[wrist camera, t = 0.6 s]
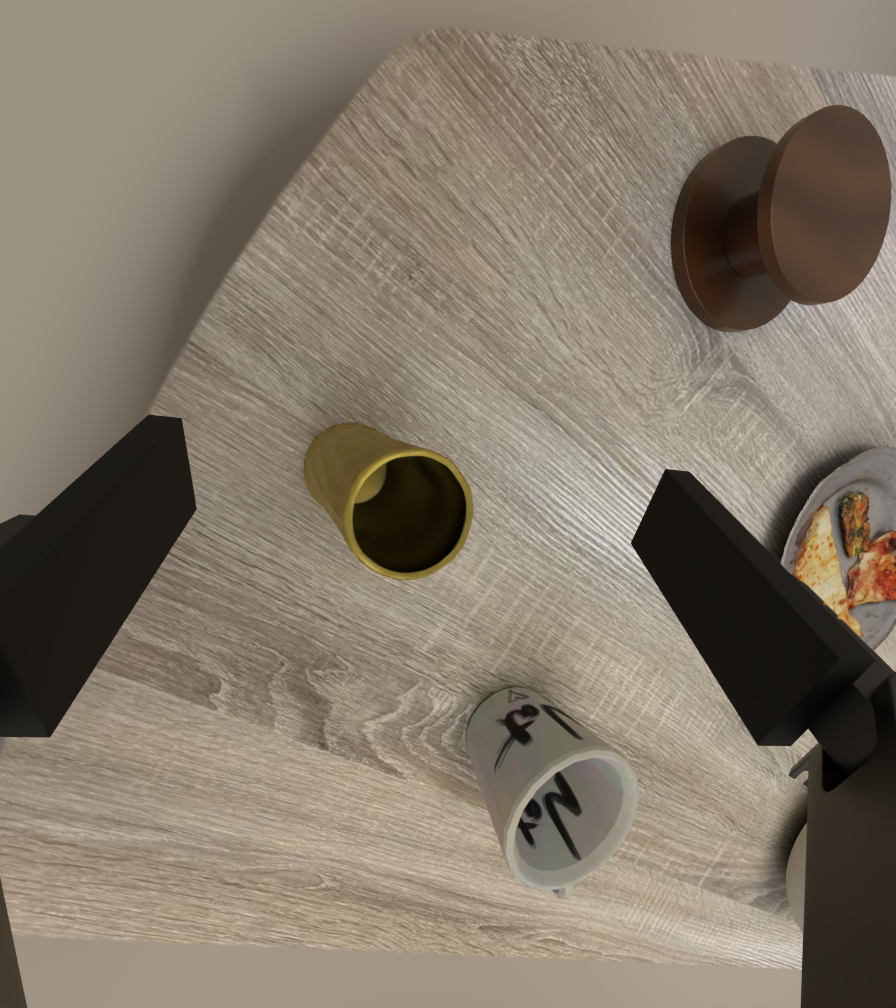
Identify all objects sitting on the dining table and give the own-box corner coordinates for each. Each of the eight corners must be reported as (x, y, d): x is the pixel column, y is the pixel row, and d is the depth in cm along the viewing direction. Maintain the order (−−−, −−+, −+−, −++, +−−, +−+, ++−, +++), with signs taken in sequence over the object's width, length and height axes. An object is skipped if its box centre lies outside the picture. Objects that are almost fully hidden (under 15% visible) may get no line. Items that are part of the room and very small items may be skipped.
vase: (394, 420, 32) (483, 431, 19) (399, 509, 33) (486, 579, 20) (299, 424, 30) (323, 441, 16) (308, 519, 31) (338, 604, 18)
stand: (670, 139, 35) (765, 77, 28) (802, 147, 39) (911, 94, 33) (671, 338, 38) (755, 325, 32) (792, 325, 43) (888, 310, 36)
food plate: (911, 597, 58) (949, 608, 55) (780, 703, 53) (813, 723, 50) (896, 409, 50) (939, 409, 47) (739, 512, 45) (776, 521, 42)
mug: (556, 654, 40) (641, 728, 31) (563, 797, 44) (641, 900, 35) (442, 691, 37) (499, 785, 28) (459, 842, 41) (515, 970, 31)
